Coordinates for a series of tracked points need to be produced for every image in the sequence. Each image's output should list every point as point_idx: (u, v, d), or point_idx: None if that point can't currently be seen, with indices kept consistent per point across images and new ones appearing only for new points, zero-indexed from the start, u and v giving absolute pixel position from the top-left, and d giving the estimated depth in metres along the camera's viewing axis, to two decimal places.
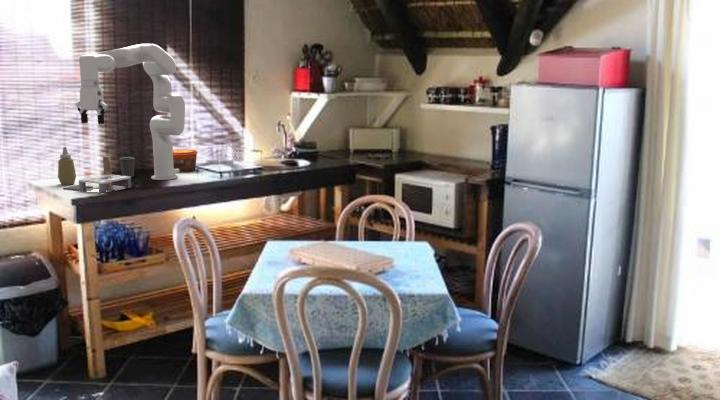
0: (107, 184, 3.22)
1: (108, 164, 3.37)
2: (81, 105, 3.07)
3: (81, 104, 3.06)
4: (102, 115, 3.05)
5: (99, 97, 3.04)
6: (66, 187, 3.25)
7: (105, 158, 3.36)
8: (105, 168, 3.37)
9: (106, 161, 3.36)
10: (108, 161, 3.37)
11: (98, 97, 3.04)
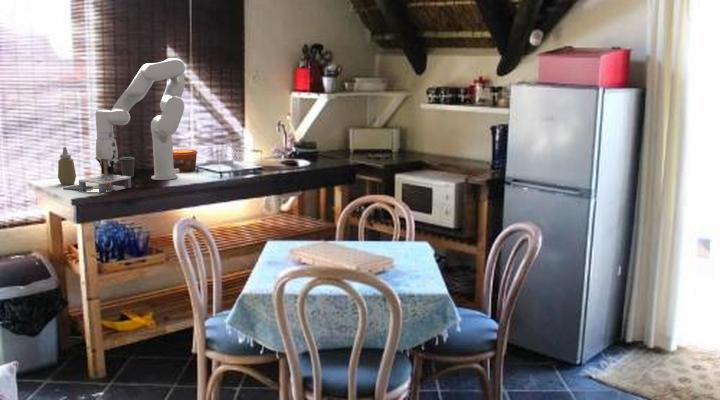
0: (107, 184, 3.22)
1: None
2: (97, 155, 3.37)
3: (97, 154, 3.37)
4: (112, 166, 3.37)
5: (114, 148, 3.35)
6: (66, 187, 3.25)
7: None
8: (105, 168, 3.37)
9: (106, 161, 3.36)
10: None
11: (112, 148, 3.34)
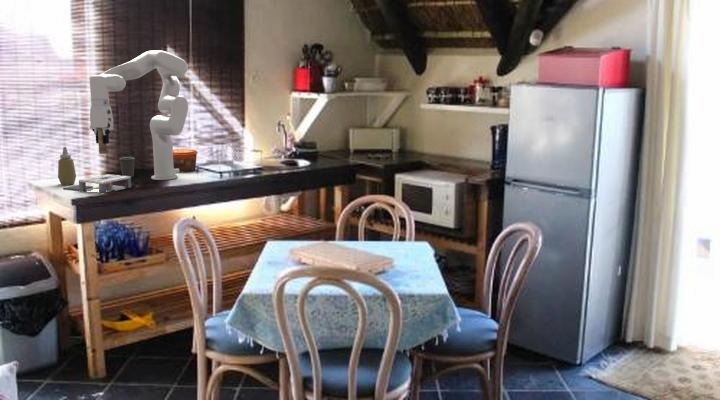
0: (107, 184, 3.22)
1: None
2: (91, 123, 3.18)
3: (91, 122, 3.18)
4: (107, 135, 3.18)
5: (109, 115, 3.16)
6: (66, 187, 3.25)
7: None
8: (100, 137, 3.18)
9: (100, 129, 3.17)
10: None
11: (107, 115, 3.15)
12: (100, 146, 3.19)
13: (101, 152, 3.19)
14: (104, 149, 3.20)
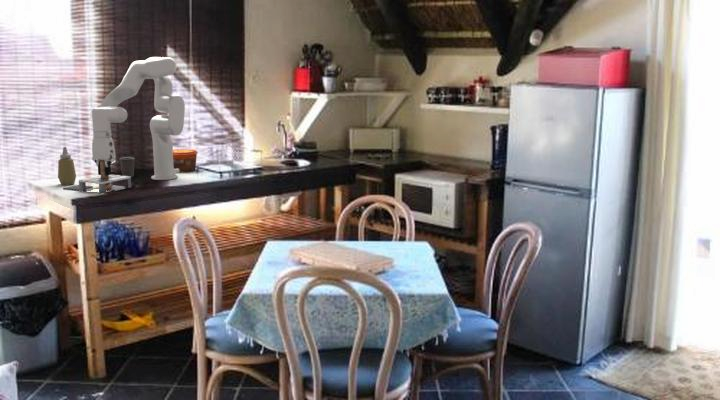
0: (107, 187, 3.23)
1: None
2: (93, 155, 3.21)
3: (93, 154, 3.21)
4: (109, 167, 3.21)
5: (111, 148, 3.18)
6: (66, 187, 3.25)
7: None
8: (102, 169, 3.21)
9: (102, 161, 3.20)
10: None
11: (110, 148, 3.18)
12: (102, 178, 3.21)
13: None
14: None
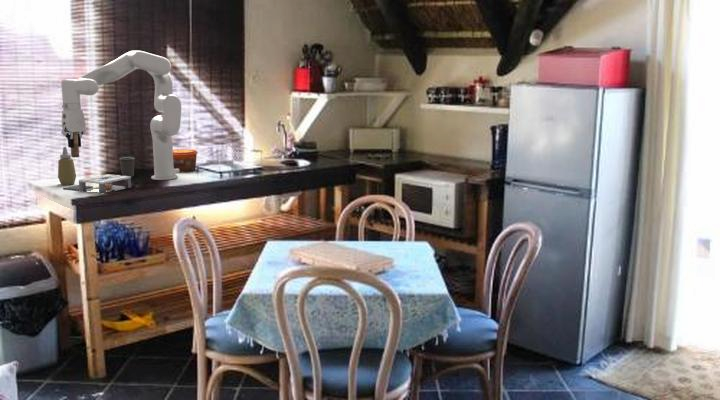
0: (107, 187, 3.23)
1: None
2: None
3: None
4: (68, 139, 3.19)
5: (64, 120, 3.15)
6: (66, 187, 3.25)
7: None
8: None
9: None
10: None
11: (63, 119, 3.16)
12: None
13: None
14: (71, 153, 3.21)
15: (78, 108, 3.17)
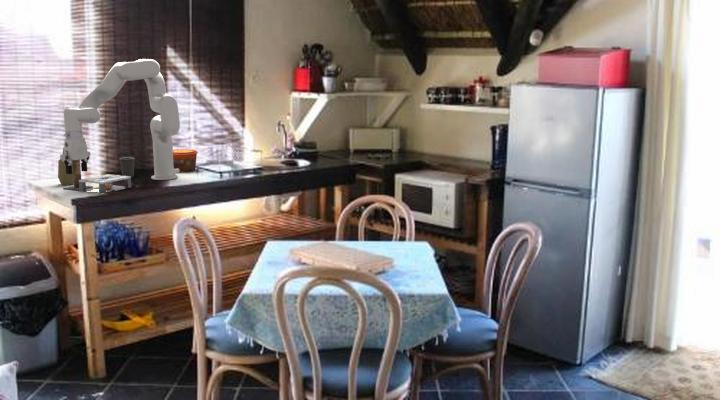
0: (107, 187, 3.23)
1: None
2: None
3: None
4: (66, 166, 3.19)
5: (66, 148, 3.18)
6: (66, 187, 3.25)
7: None
8: None
9: None
10: (72, 164, 3.23)
11: (65, 148, 3.18)
12: None
13: None
14: (74, 183, 3.24)
15: (80, 136, 3.20)
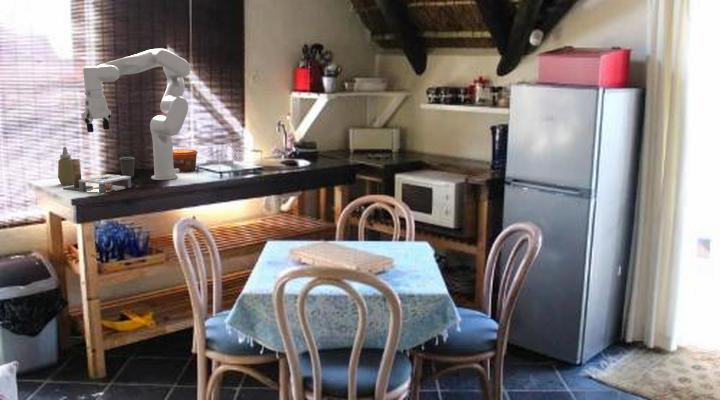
0: (107, 187, 3.23)
1: None
2: None
3: None
4: (87, 124, 3.20)
5: (87, 107, 3.19)
6: (66, 187, 3.25)
7: None
8: None
9: None
10: (72, 164, 3.23)
11: (86, 106, 3.19)
12: None
13: None
14: (74, 183, 3.24)
15: (100, 95, 3.20)
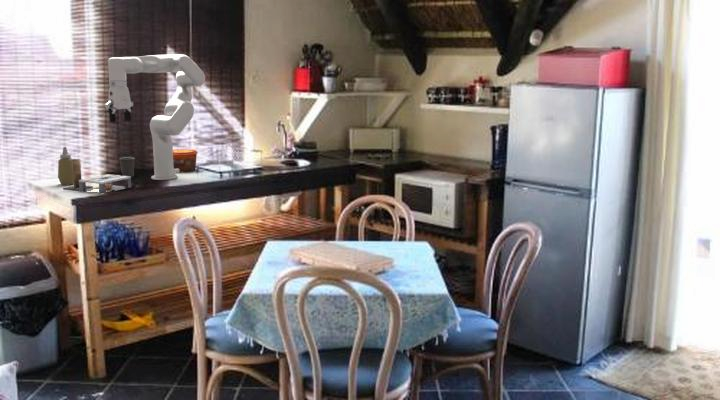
0: (107, 187, 3.23)
1: (73, 167, 3.23)
2: None
3: None
4: (110, 114, 3.23)
5: (111, 97, 3.22)
6: (66, 187, 3.25)
7: None
8: None
9: None
10: (73, 164, 3.23)
11: (110, 97, 3.23)
12: None
13: None
14: (74, 183, 3.24)
15: (124, 86, 3.24)
